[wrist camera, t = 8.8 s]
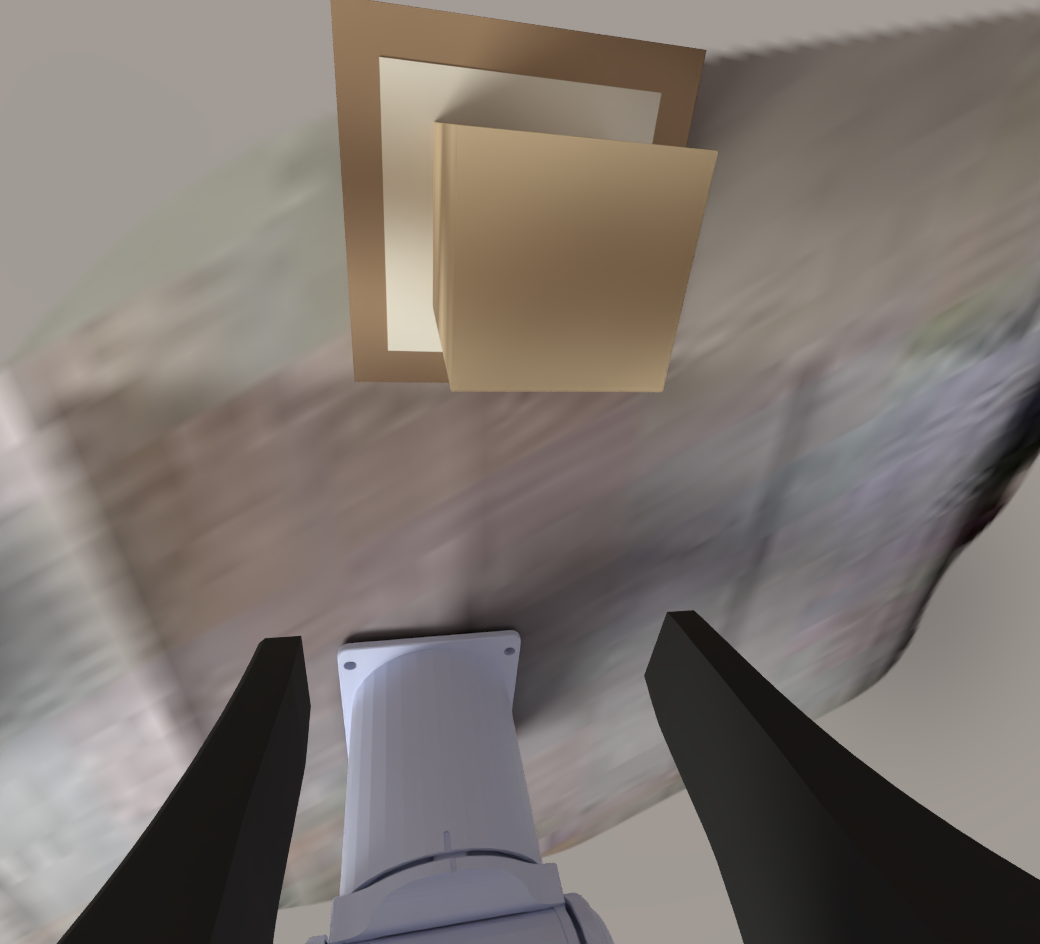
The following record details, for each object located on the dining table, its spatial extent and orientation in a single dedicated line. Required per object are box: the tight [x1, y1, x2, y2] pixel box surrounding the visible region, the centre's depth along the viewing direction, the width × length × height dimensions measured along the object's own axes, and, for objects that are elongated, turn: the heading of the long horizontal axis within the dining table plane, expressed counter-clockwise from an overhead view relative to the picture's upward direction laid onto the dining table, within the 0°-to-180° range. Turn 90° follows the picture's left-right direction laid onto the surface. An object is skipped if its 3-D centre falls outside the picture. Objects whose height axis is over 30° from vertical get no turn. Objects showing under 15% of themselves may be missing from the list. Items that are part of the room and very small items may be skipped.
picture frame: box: [331, 0, 706, 383], centre depth 16 cm, size 9×9×2 cm
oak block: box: [433, 122, 718, 392], centre depth 13 cm, size 4×4×6 cm
